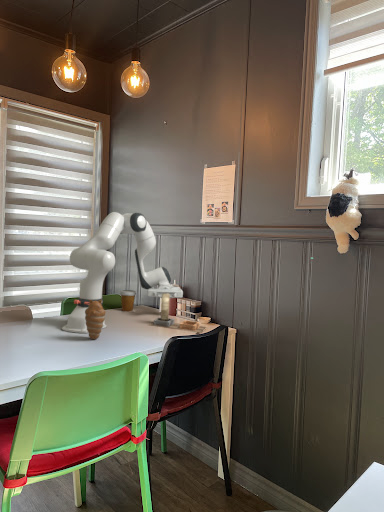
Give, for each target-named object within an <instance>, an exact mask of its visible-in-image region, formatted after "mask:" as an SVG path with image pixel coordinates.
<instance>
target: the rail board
mask: <svg viewBox="0 0 384 512" xmlns="http://www.w3.org/2000/svg"><path fill="white" fill-rule="evenodd" d="M147 326H151V327H157V328H164V329H172V330H179V331H187V332H192V333H195V335H197V334H200V333H201V334H202V333H203V332H204V331H205V330H206V329H205V328H207V327H206V326H201V324H200V322H199V321H193V320H192V321H191V320H183V321H181V322H180V323H179V322H175V318H170V317H168V321H161V316H160V317H157V318H156V319H154V320H153V321H152V322H151V323H149V324H147ZM204 329H205V330H204ZM203 330H204V331H203ZM202 331H203V332H202ZM201 334H200V335H201Z"/></svg>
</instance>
